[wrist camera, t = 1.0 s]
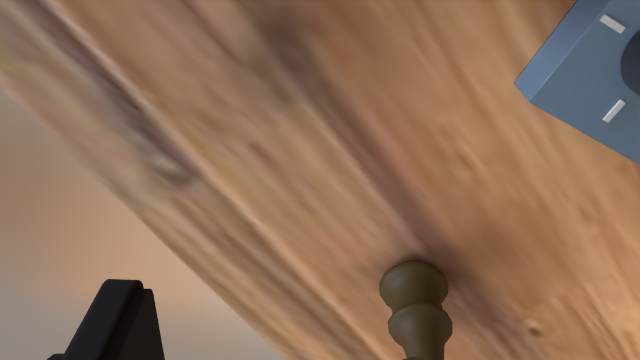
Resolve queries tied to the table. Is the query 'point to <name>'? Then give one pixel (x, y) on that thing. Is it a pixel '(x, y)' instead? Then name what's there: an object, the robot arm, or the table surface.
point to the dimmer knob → (632, 64)
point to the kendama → (417, 309)
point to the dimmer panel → (589, 74)
